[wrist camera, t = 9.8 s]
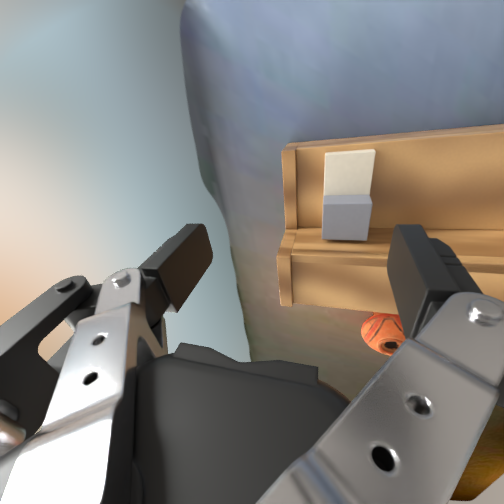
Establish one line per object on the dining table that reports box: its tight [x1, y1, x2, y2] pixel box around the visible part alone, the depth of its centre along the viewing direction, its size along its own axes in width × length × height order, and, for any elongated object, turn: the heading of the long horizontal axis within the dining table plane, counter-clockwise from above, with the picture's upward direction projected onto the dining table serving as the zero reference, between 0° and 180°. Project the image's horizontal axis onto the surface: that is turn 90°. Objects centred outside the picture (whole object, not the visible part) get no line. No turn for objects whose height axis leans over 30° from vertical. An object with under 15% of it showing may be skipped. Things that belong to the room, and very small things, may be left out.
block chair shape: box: [322, 149, 376, 241], centre depth 24 cm, size 8×4×4 cm, turn 8°
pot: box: [361, 312, 406, 356], centre depth 36 cm, size 8×8×7 cm
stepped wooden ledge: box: [277, 124, 504, 315], centre depth 24 cm, size 16×23×11 cm
